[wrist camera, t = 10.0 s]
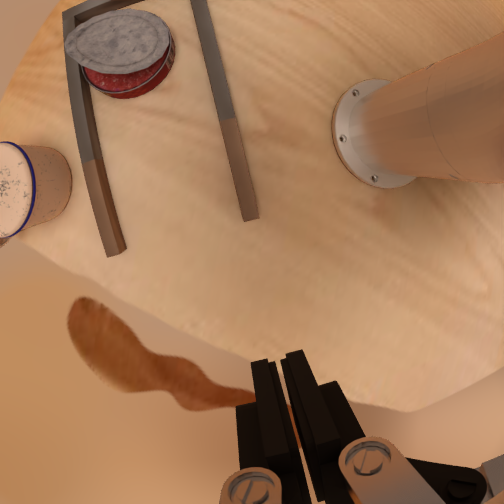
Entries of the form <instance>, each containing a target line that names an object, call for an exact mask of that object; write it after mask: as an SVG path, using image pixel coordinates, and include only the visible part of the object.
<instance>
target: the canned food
mask: <svg viewBox="0 0 504 504" xmlns="http://www.w3.org/2000/svg"><path fill="white" fill-rule="evenodd" d="M64 44H65V50H66V53H67V55H69V56H70V57H72V58H73V59H74V60H75V61H77V62H78V63H79V64H80V65H81V67H82V72H83V74H84V77H85V79H86V80H87V81H88V83H89V84H90V85H91V86H93V87H94V88H95V89H97V90H99V91H101V92H102V93H104V94H106V95H108V96H110V97H113V98H118V99H129V98H134V97H138V96H140V95H143V94H145V93H147V92H149V91H151V90H152V89H154V88H155V87H156V86H157V85H159V84H160V83H161V82H162V81H163V79H164V78H165V77H166V76H167V74H168V73H169V71H170V70H171V67H172V65H173V62H174V57H175V45H174V41H173V39H172V36H171V34H170V30H169V28H168V26H167V25H166V23H165V22H164V21H163V20H162V19H161V18H160V17H158V16H156V15H155V14H153V13H150V12H147V11H141V10H134V9H124V10H115V11H109V12H107V13H104V14H101V15H98V16H95V17H92V18H91V19H89V20H88V21H86V22H84V23H82V24H80V25H78V26H77V27H76V28H75V29H74V30H73V31H72V32H70V33H69V34H68V36H67V38H66V41H65V43H64Z"/></svg>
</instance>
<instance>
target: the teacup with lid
mask: <svg viewBox="0 0 504 504" xmlns="http://www.w3.org/2000/svg"><path fill="white" fill-rule="evenodd" d="M71 183H72V182H71V173H70V169H69V166H68V164H67V162H66V160H65V159H64V157H63V156H62V155H61V154H60V153H59V152H57V151H56V150H54V149H52V148H48V147H38V146H26V145H17V144H15V143H12V142H0V248H1V247H2V246H4V245H5V244H6V243H7V242H8V241H9V240H10V239H11V238H12V236H14V235H15V234H17V233H18V232H19V231H21V230H23V229H26V228H29V227H32V226H35V225H38V224H41V223H44V222H46V221H49V220H52V219H53V218H55V217H56V216H58V215H59V214H60V213H61V212H62V210H63V209H64V208H65V206H66V204H67V202H68V199H69V196H70V192H71Z"/></svg>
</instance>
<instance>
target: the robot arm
mask: <svg viewBox="0 0 504 504" xmlns="http://www.w3.org/2000/svg"><path fill="white" fill-rule="evenodd" d="M352 93H354V94H355V96H353V94H352ZM332 134H333V140H334V144H335V147H336V150H337V153H338V155H339V157H340V158H341V160H342V162H343V164H344V165H345V166H346V167H347V168H348V170H349V171H350V172H351V173H352V174H353V175H354V176H356V177H357V178H358V179H359V180H361V181H363V182H365V183H366V184H369V185H372V186H374V187H379V188H392V189H393V188H398V187H402V186H404V185H407V184H409V183H410V182H412V181H413V180H414V179H416V178H417V177H429V178H440V179H451V180H461V181H470V182H482V183H504V32H502V33H500V34H498V35H497V36H495V37H493V38H491V39H489V40H487V41H485V42H483V43H480V44H478V45H476V46H474V47H471V48H469V49H467V50H465V51H462V52H460V53H457V54H455V55H452V56H450V57H448V58H445V59H444V60H441V61H439V62H436V63H434V64H432V65H429V66H427V67H425V68H422V69H420V70H418V71H416V72H413V73H411V74H409V75H407V76H405V77H402V78H400V79H398V80H396V81H394V82H392V81H388V80H384V79H369V80H364V81H362V82H359V83H357V84H355V85H354V86H352V87H350V88H349V89H348V90H347V91H346V92H345V93H344V94H343V95H342V97H341V98H340V99H339V101H338V103H337V105H336V108H335V110H334V114H333V120H332ZM340 137H341V138H342V142H341V141H340V140H339V138H340ZM371 177H373V180H371ZM280 361H281V366H282V370H283V374H284V378H285V383H286V387H287V391H288V395H289V400H290V404H291V408H292V413H293V417H294V421H295V425H296V428H297V432H298V435H299V439H300V442H301V446H302V449H303V452H304V456H305V460H306V463H307V466H308V470H309V474H310V477H311V481H312V484H313V488H314V491H315V494H316V498H317V501H318V502H321V501H325V503H326V504H504V454H503V455H501V456H498V457H496V458H494V459H491V460H489V461H487V462H484V463H482V465H481V467H478V468H475V469H472V468H468V467H460V466H453V465H446V464H439V463H433V462H427V461H421V460H416V459H411V458H406V457H404V456H403V455H402V454H401V453H400V451H399V450H398V449H397V448H396V447H395V446H394V444H392V443H391V442H390V441H389V440H386V439H384V438H381V437H373V436H372V437H366V436H365V434H364V432H363V430H362V429H361V427H360V425H359V423H358V421H357V419H356V417H355V415H354V413H353V411H352V409H351V407H350V405H349V403H348V401H347V399H346V397H345V396H344V394H343V392H342V390H341V388H340V386H339V384H338V383H337V381H333V382H329V383H326V384H323V385H319V386H318V384H317V382H316V380H315V377H314V375H313V373H312V371H311V368H310V366H309V364H308V361H307V359H306V357H305V354H304V352H303V350H298V351H294V352H290V353H287V354H286V358H285V359H281V360H280ZM251 369H252V376H253V382H254V389H255V396H256V402H253V403H248V404H243V405H238V406H236V419H237V420H236V421H237V436H238V448H239V463H240V471H237V472H235V473H234V474H233V475H231V476H230V477H229V478H228V479H227V480H226V481H225V483H224V485H223V488H222V490H221V496H220V501H219V504H312V502H311V498H310V494H309V489H308V486H307V481H306V477H305V473H304V469H303V464H302V460H301V456H300V452H299V448H298V444H297V441H296V437H295V433H294V430H293V426H292V422H291V419H290V415H289V411H288V408H287V404H286V400H285V397H284V393H283V389H282V386H281V382H280V378H279V374H278V371H277V367H276V363H275V361H273V362H269V363H268V359H263V360H259V361H254V362H251Z"/></svg>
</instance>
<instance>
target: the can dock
mask: <svg viewBox="0 0 504 504" xmlns="http://www.w3.org/2000/svg"><path fill="white" fill-rule="evenodd" d="M140 1H143V0H87V1H85V2H83V3H81V4H78V5H76V6H74V7H72V8H70V9H68V10H66V11H64V12H62V18H63V37H64V43H65V41H66V38H67V36H68V34H69V33H70V32H72V31H73V30H74V29H75V28H76V27H77V26H78V25H80V24H82V23H84V22H86V21H88V20H89V19H91V18H92V17H95V16H98V15H101V14H104V13H107V12H109V11H114V10H117V9H120V8H122V7H125V6H128V5H131V4H134V3H137V2H140ZM191 4H192V9H193V13H194V17H195V21H196V25H197V29H198V34H199V38H200V42H201V46H202V50H203V54H204V59H205V63H206V67H207V71H208V75H209V80H210V84H211V88H212V92H213V96H214V100H215V104H216V109H217V113H218V117H219V121H220V125H221V129H222V134H223V138H224V142H225V146H226V150H227V154H228V159H229V163H230V167H231V171H232V175H233V179H234V183H235V188H236V192H237V196H238V200H239V204H240V208H241V213H242V217H243V220H244V222H245V221H250V220H254V219H258V218H259V214H258V210H257V205H256V201H255V197H254V193H253V188H252V184H251V180H250V176H249V171H248V167H247V163H246V159H245V155H244V150H243V146H242V142H241V138H240V134H239V130H238V125H237V121H236V117H235V113H234V109H233V105H232V101H231V97H230V93H229V89H228V85H227V81H226V77H225V73H224V69H223V65H222V61H221V57H220V53H219V49H218V45H217V41H216V37H215V33H214V29H213V25H212V21H211V17H210V14H209V10H208V6H207V2H206V0H191ZM64 51H65V62H66V72H67V80H68V88H69V96H70V102H71V109H72V115H73V121H74V127H75V133H76V138H77V143H78V148H79V153H80V158H81V163H82V167H83V172H84V176H85V180H86V184H87V188H88V192H89V196H90V200H91V204H92V208H93V212H94V215H95V219H96V222H97V226H98V229H99V233H100V236H101V239H102V243H103V246H104V249H105V252H106V255H107V258H108V257H111V256H115V255H118V254H121V253H122V252H123V251H124V250H125V249H127V248H126V245H125V241H124V238H123V235H122V231H121V228H120V224H119V221H118V217H117V214H116V210H115V206H114V203H113V199H112V195H111V191H110V187H109V183H108V179H107V175H106V171H105V166H104V162H103V157H102V153H101V148H100V143H99V139H98V134H97V129H96V123H95V118H94V112H93V107H92V101H91V95H90V88H89V83H88V81H87V80H86V79H85V77H84V74H83V72H82V67H81V65H80V64H79V63H78V62H77V61H75V60H74V59H73V58H72V57H70V56H69V55H67V53H66V50H65V44H64Z"/></svg>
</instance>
